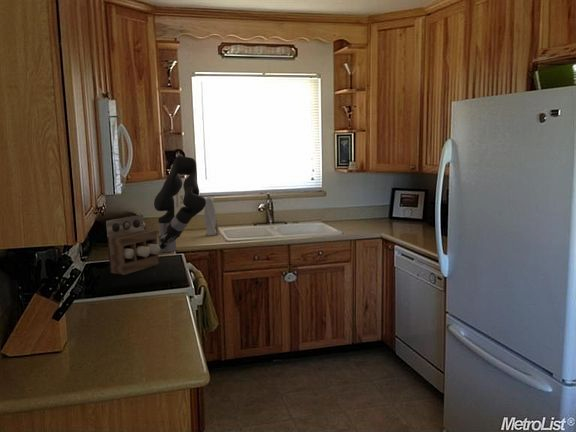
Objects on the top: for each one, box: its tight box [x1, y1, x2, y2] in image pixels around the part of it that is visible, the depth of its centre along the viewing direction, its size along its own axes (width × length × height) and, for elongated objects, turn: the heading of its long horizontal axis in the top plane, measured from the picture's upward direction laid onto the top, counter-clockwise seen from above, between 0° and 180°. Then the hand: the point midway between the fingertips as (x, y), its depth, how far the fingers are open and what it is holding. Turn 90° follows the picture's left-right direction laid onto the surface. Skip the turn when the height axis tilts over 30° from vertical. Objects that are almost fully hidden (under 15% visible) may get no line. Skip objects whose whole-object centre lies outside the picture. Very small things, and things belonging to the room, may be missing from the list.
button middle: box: [136, 246, 150, 257], centre depth 249 cm, size 7×5×5 cm
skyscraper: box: [202, 194, 220, 237], centre depth 343 cm, size 8×8×28 cm
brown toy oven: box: [105, 214, 160, 276], centre depth 252 cm, size 10×23×26 cm, turn 148°
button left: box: [124, 248, 134, 259], centre depth 246 cm, size 7×5×5 cm
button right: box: [146, 243, 161, 255], centre depth 255 cm, size 7×5×5 cm
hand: (161, 247), depth 251 cm, fingers closed
